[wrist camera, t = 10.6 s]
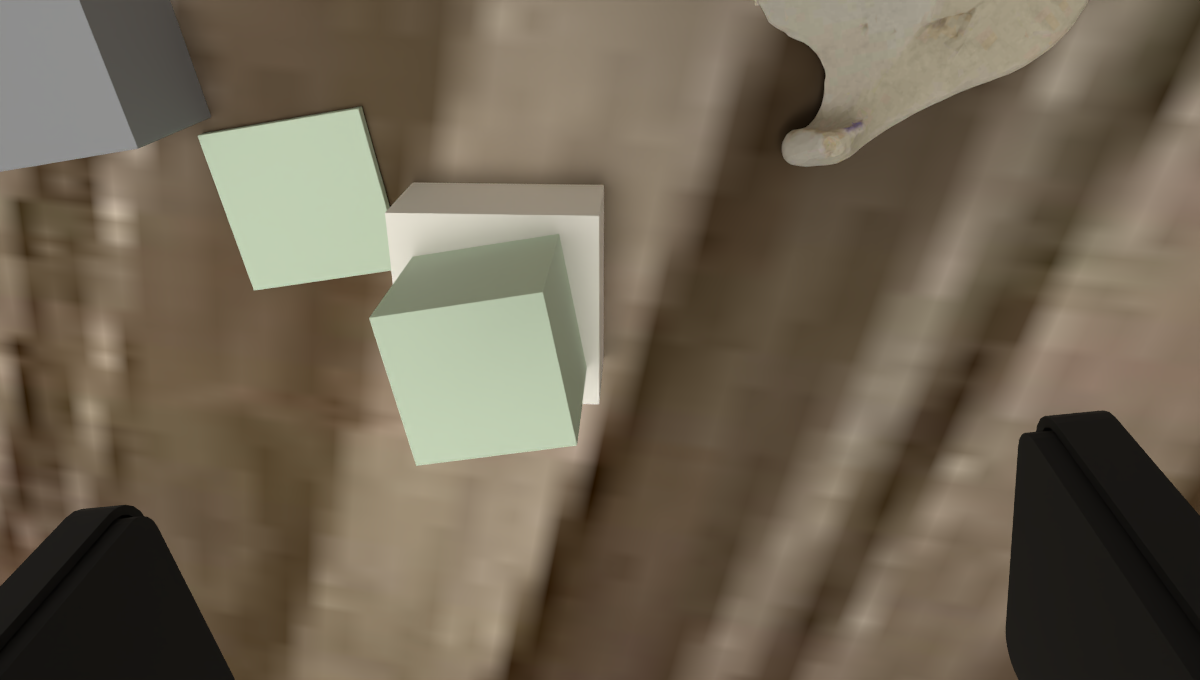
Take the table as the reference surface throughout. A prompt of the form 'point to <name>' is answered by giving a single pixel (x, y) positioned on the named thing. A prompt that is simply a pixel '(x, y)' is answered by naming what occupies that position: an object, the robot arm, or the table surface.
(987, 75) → the fossil
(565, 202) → the base block
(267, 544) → the table surface
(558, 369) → the sage cube
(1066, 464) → the robot arm
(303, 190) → the swatch
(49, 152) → the gray cube
